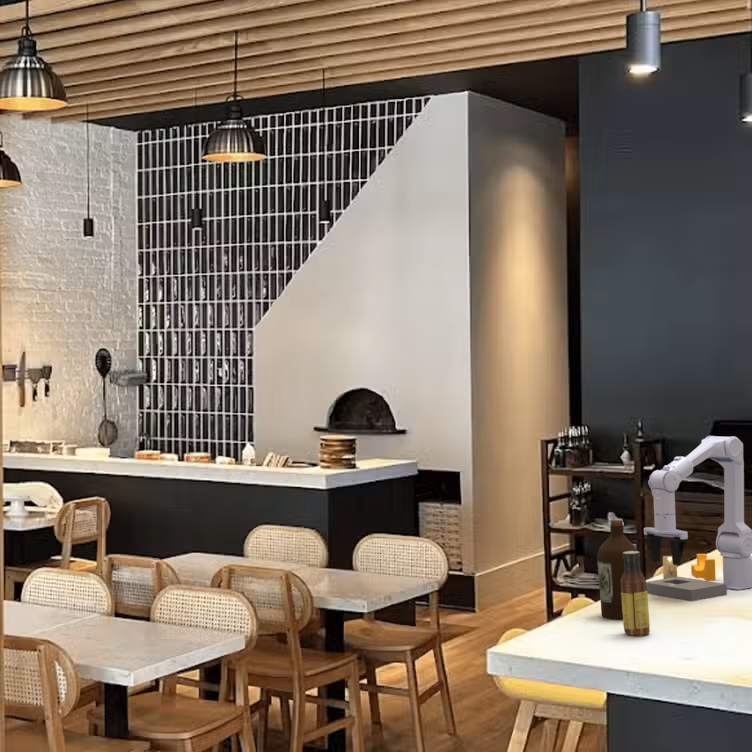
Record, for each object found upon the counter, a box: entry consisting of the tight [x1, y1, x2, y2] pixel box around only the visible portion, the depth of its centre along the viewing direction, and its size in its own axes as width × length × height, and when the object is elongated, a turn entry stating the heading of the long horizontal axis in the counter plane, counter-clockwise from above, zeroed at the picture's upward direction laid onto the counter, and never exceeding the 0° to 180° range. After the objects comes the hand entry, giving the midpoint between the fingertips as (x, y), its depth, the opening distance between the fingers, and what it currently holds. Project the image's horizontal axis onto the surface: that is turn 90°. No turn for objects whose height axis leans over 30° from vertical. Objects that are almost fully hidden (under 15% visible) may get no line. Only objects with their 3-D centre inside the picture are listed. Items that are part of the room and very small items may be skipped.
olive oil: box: [596, 519, 638, 621], centre depth 324 cm, size 11×11×25 cm
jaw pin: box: [662, 555, 678, 579], centre depth 369 cm, size 4×4×8 cm
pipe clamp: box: [690, 553, 717, 582], centre depth 378 cm, size 12×4×6 cm, turn 179°
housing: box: [646, 576, 728, 602], centre depth 353 cm, size 14×18×3 cm
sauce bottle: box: [621, 550, 651, 637], centre depth 302 cm, size 7×6×20 cm
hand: (666, 563), depth 345 cm, fingers open, 7 cm apart
